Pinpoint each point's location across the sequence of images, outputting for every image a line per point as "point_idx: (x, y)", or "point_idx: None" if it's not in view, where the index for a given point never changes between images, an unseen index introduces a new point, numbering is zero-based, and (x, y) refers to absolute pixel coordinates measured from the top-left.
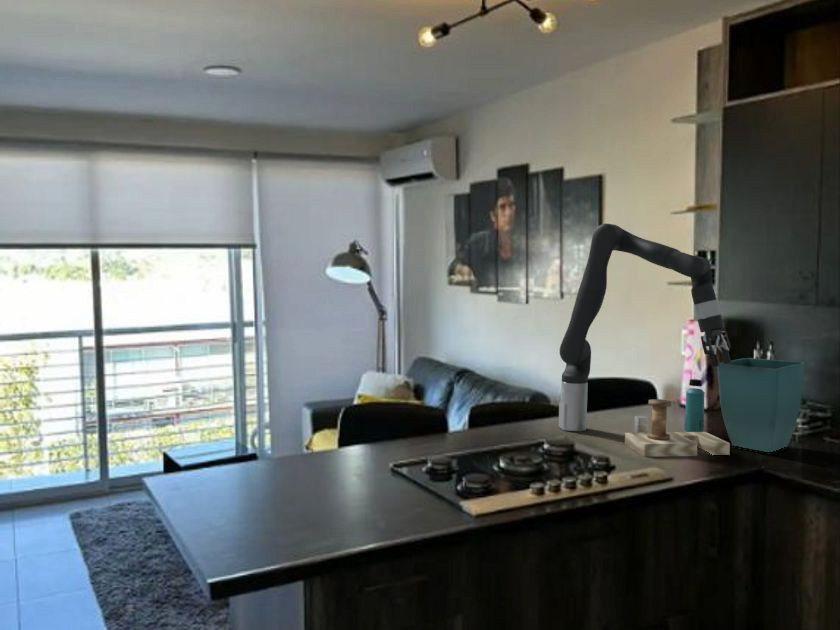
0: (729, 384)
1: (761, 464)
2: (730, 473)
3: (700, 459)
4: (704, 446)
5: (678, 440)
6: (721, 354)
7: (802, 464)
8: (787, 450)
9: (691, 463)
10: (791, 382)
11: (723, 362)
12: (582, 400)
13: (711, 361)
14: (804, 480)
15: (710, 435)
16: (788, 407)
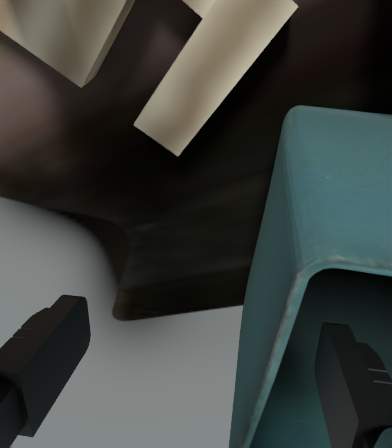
0: (270, 241)
1: (163, 219)
2: (31, 203)
3: (71, 102)
4: (172, 64)
5: (55, 11)
6: (348, 398)
7: (236, 269)
8: None
9: (11, 105)
10: None
11: (326, 323)
12: None
13: (17, 338)
14: (119, 293)
15: (242, 58)
16: None
